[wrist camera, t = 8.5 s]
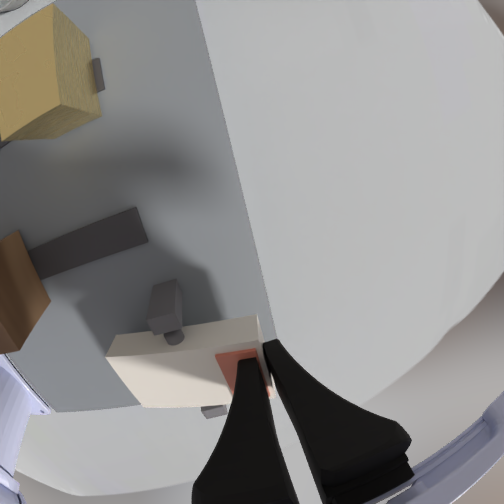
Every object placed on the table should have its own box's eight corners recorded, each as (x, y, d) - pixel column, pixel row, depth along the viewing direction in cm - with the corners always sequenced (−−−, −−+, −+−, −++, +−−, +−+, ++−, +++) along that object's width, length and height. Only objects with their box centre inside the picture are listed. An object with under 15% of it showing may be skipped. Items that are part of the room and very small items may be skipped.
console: (62, 394, 16) (49, 439, 12) (-56, 110, 6) (-98, 113, 2) (275, 348, 18) (299, 401, 14) (183, -26, 8) (185, -77, 4)
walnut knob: (23, 310, 11) (-8, 355, 7) (-8, 244, 9) (-52, 278, 5) (51, 301, 11) (19, 350, 7) (18, 230, 9) (-29, 263, 6)
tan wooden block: (54, 138, 8) (1, 141, 5) (43, 62, 7) (-4, 41, 3) (102, 116, 9) (60, 104, 5) (89, 38, 7) (52, 3, 3)
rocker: (153, 390, 14) (147, 413, 12) (112, 328, 12) (99, 353, 10) (274, 377, 13) (277, 404, 12) (254, 306, 11) (256, 334, 10)
